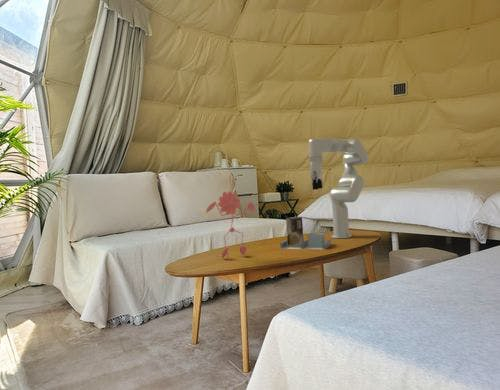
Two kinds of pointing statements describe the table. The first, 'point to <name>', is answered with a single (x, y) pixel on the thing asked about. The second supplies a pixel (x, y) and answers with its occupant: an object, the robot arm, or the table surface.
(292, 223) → the coffee box
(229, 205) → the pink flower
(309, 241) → the slate block
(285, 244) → the slot rack
